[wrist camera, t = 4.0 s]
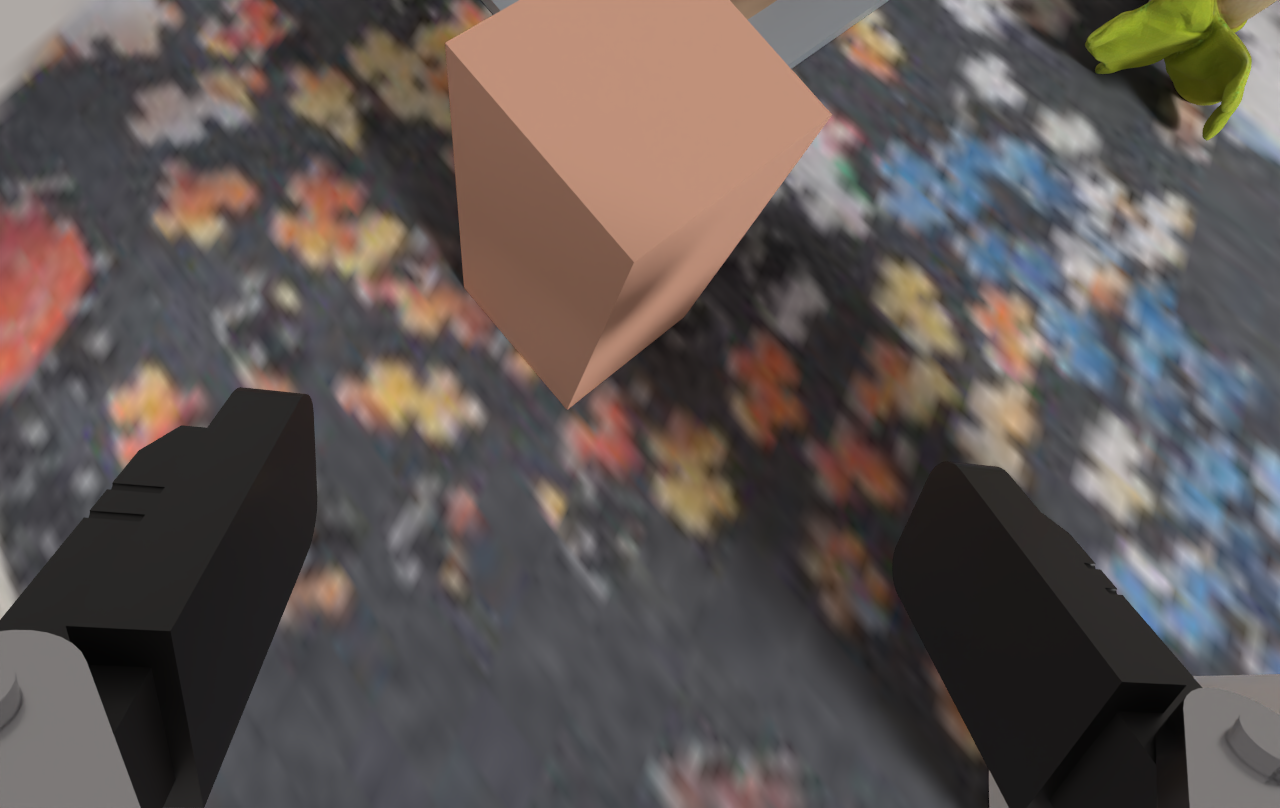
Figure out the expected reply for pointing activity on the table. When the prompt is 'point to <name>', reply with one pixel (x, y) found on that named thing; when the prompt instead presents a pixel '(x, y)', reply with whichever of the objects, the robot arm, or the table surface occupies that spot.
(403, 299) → the table surface
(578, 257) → the tall block
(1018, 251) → the table surface
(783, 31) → the building mat
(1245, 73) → the bird rattle
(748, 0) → the base slab
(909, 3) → the table surface
